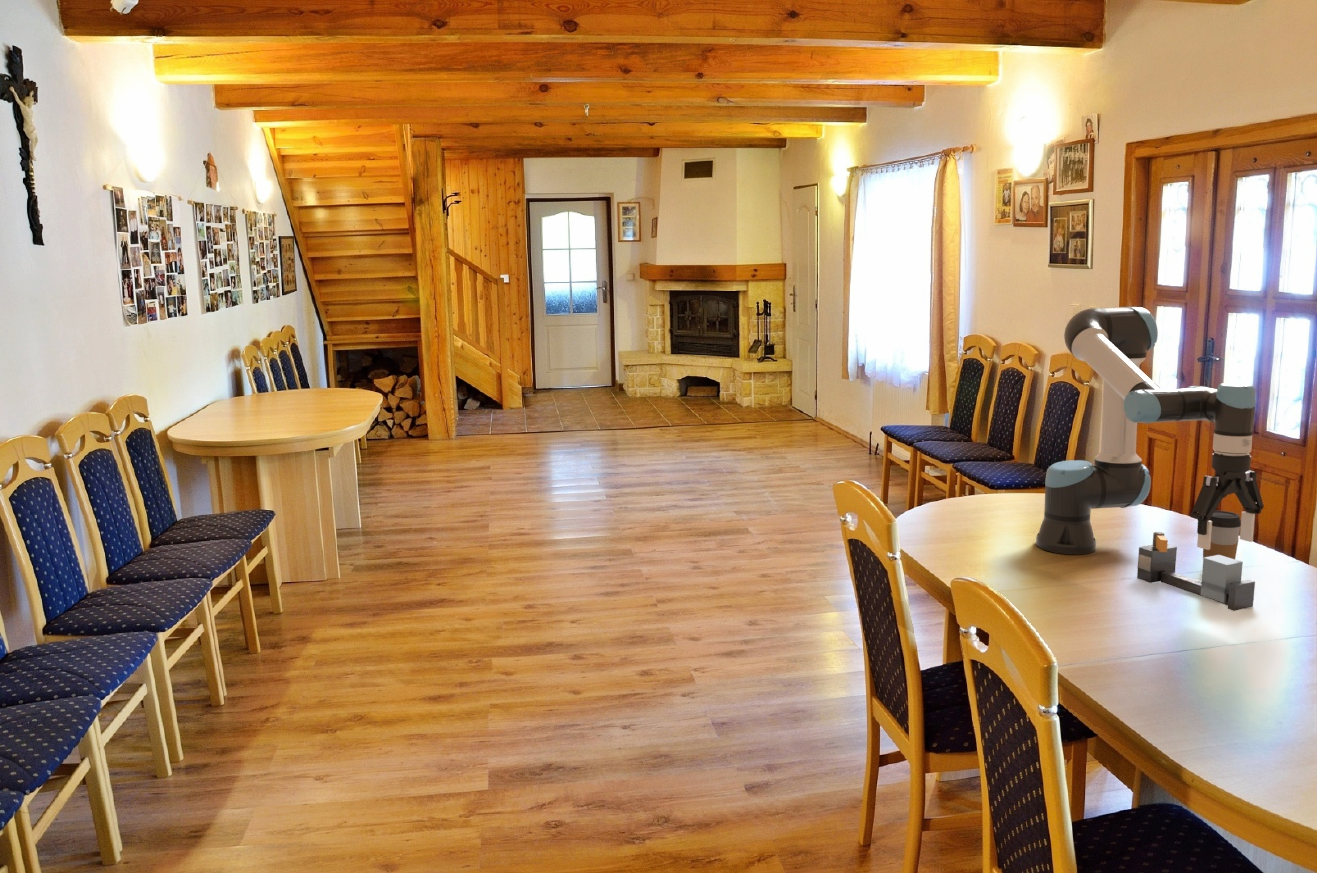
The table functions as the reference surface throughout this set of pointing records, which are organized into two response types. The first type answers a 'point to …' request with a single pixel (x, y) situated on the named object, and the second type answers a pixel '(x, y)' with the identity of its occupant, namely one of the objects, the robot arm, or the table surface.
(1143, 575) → the end cabinet
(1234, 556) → the coffee cup
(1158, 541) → the lever
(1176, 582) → the rail
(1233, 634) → the table surface
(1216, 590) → the block
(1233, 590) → the square post base
